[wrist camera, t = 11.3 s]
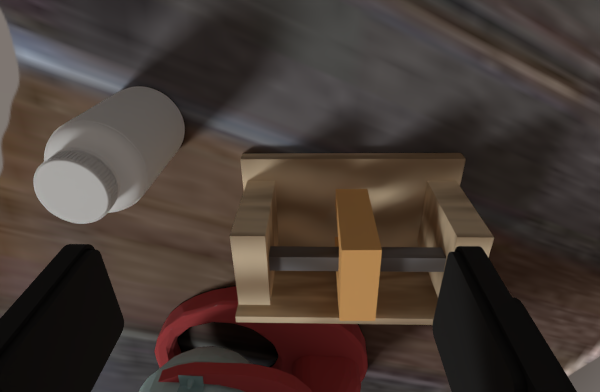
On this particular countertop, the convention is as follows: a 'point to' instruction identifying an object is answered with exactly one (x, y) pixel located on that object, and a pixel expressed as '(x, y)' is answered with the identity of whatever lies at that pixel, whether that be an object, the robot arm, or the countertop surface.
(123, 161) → the pill bottle
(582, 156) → the countertop surface
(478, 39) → the countertop surface
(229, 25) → the countertop surface
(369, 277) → the upright wooden block
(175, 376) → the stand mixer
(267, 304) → the wooden vise
